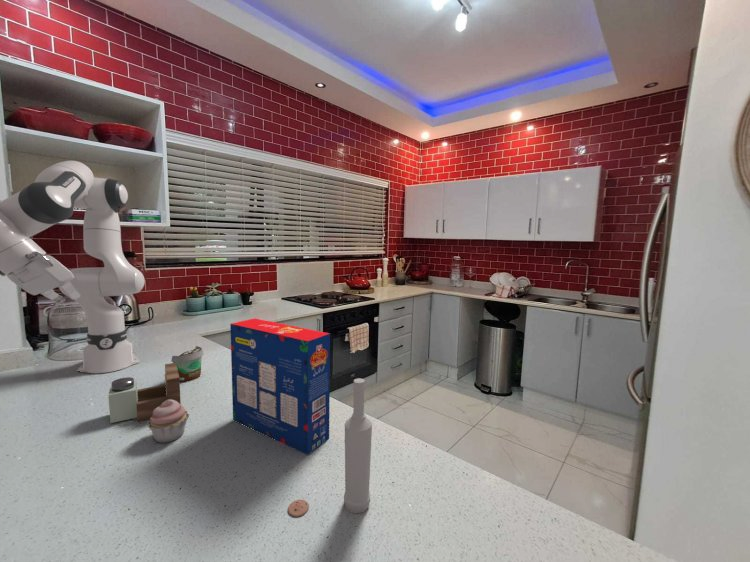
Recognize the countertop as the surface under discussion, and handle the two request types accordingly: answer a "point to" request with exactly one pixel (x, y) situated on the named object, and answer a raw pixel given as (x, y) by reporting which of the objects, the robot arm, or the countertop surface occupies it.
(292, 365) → the pasta box
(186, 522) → the countertop surface
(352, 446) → the bottle
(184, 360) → the food container
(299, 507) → the cookie
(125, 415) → the sliding knob
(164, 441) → the cupcake
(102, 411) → the countertop surface
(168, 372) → the walnut mount
